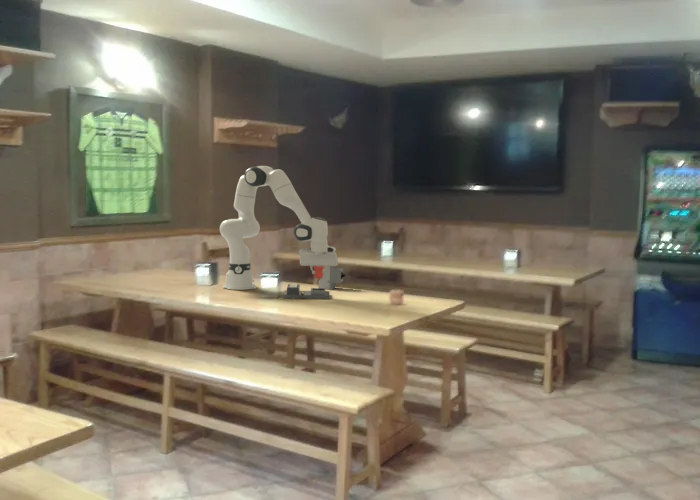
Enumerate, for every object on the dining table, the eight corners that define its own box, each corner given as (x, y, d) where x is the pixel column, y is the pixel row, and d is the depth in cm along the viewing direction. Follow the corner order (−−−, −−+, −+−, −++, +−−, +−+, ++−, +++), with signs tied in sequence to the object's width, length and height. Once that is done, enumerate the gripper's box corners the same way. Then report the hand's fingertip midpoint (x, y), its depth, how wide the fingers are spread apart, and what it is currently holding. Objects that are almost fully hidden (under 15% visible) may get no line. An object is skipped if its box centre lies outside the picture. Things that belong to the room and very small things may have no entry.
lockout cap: (313, 277, 363) (314, 265, 363) (323, 277, 363) (323, 265, 363) (313, 278, 358) (313, 266, 358) (323, 278, 358) (323, 267, 358)
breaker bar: (290, 289, 366) (290, 283, 366) (297, 289, 367) (297, 283, 366) (289, 292, 356) (289, 286, 355) (296, 292, 356) (296, 286, 355)
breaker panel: (284, 294, 368) (284, 283, 368) (329, 294, 369) (329, 284, 369) (283, 298, 354) (283, 287, 354) (329, 299, 355) (329, 288, 355)
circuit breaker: (342, 290, 387) (343, 263, 386) (318, 288, 390) (318, 262, 388) (345, 288, 394) (346, 262, 393) (321, 286, 397) (322, 261, 396)
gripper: (299, 248, 356) (298, 274, 357) (338, 249, 357) (337, 275, 358) (299, 247, 362) (299, 273, 363) (338, 248, 363) (337, 273, 364)
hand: (318, 274), depth 361 cm, fingers closed on lockout cap, 4 cm apart
